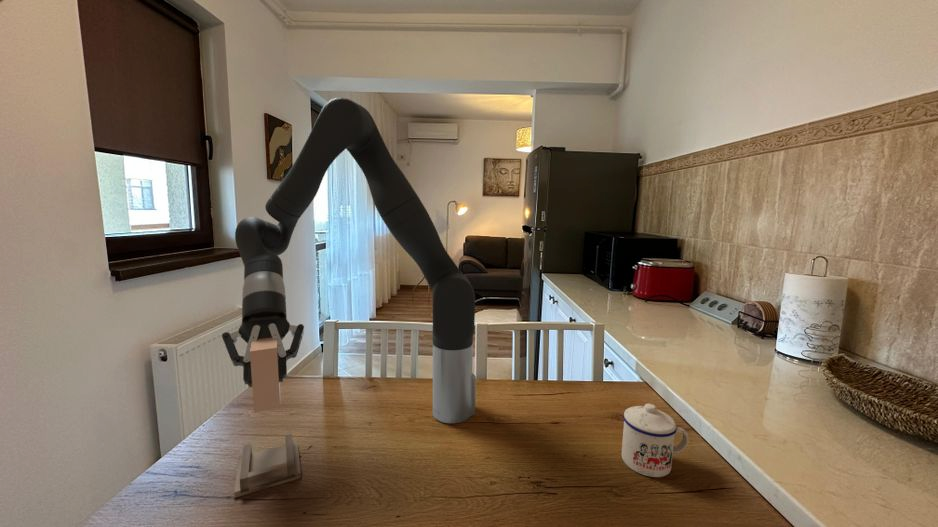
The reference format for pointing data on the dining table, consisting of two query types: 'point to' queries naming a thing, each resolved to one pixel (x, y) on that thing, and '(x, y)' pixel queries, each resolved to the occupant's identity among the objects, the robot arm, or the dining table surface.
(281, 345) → the robot arm
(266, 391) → the clay block
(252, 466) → the tray
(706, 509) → the dining table surface
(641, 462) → the teacup with lid
